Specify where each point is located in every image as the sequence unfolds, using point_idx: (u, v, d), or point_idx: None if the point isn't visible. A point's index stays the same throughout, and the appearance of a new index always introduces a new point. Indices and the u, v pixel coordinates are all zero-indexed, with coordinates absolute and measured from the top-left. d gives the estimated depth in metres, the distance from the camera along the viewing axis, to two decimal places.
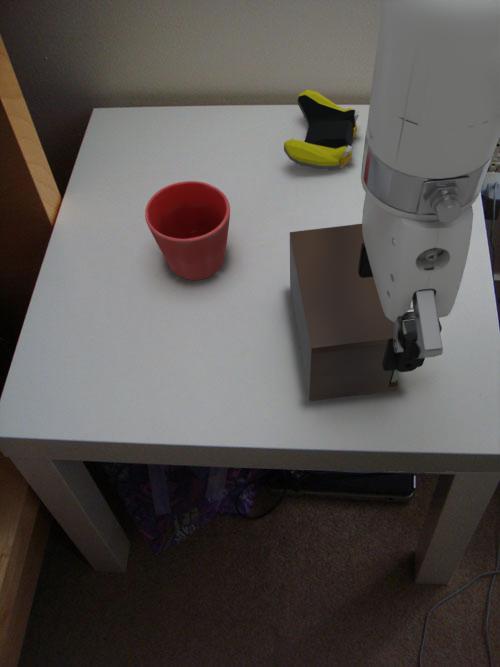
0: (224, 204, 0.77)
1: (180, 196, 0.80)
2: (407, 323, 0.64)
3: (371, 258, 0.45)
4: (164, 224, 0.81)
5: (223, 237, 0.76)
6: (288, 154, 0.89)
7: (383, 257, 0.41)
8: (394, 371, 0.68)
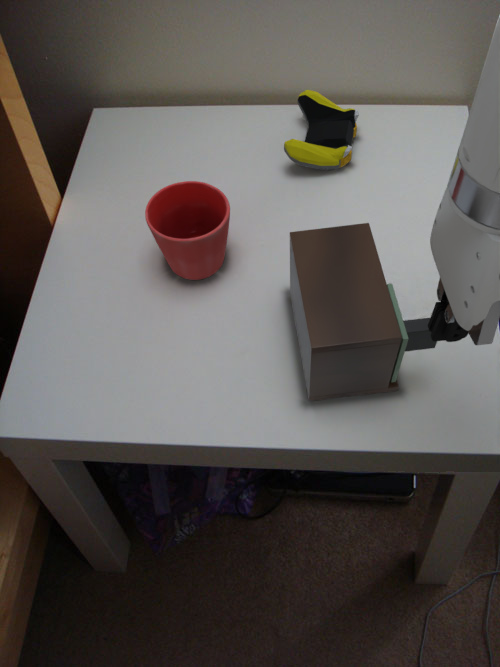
0: (224, 204, 0.77)
1: (180, 196, 0.80)
2: (407, 323, 0.64)
3: (444, 270, 0.47)
4: (164, 224, 0.81)
5: (223, 237, 0.76)
6: (288, 154, 0.89)
7: (462, 269, 0.43)
8: (394, 371, 0.68)
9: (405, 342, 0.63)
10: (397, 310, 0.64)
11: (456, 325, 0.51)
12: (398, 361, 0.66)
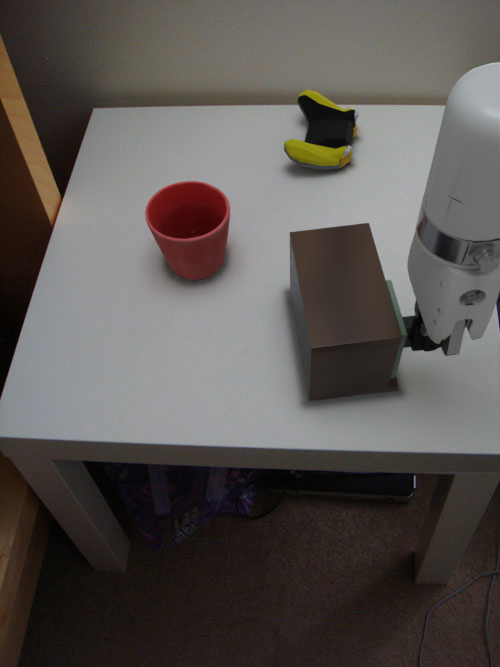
0: (224, 204, 0.77)
1: (180, 196, 0.80)
2: (406, 319, 0.64)
3: (418, 292, 0.56)
4: (164, 224, 0.81)
5: (223, 237, 0.76)
6: (288, 154, 0.89)
7: (431, 294, 0.52)
8: None
9: (404, 338, 0.63)
10: (396, 306, 0.64)
11: None
12: (397, 357, 0.66)
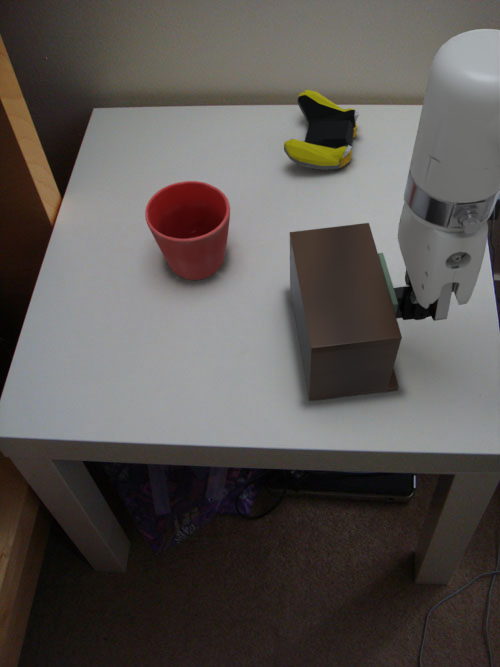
0: (224, 204, 0.77)
1: (180, 196, 0.80)
2: (397, 290, 0.66)
3: (407, 259, 0.58)
4: (164, 224, 0.81)
5: (223, 237, 0.76)
6: (288, 154, 0.89)
7: (419, 259, 0.54)
8: None
9: (395, 307, 0.65)
10: (387, 277, 0.67)
11: (421, 305, 0.62)
12: None
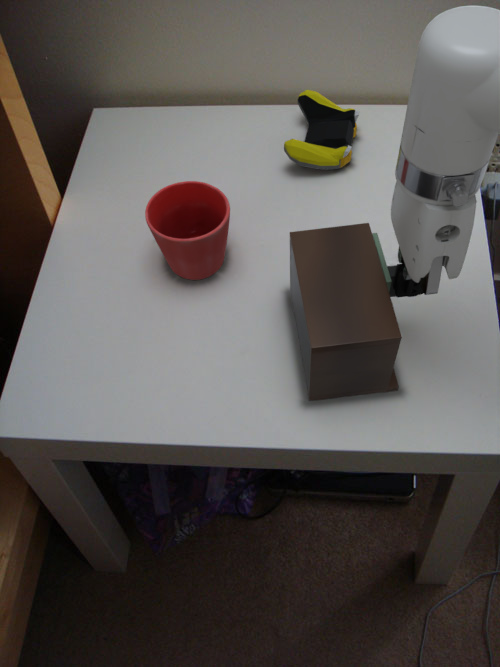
0: (224, 204, 0.77)
1: (180, 196, 0.80)
2: (391, 268, 0.68)
3: (399, 236, 0.60)
4: (164, 224, 0.81)
5: (223, 237, 0.76)
6: (288, 154, 0.89)
7: (410, 233, 0.56)
8: None
9: (388, 285, 0.67)
10: (381, 256, 0.68)
11: (413, 282, 0.64)
12: None
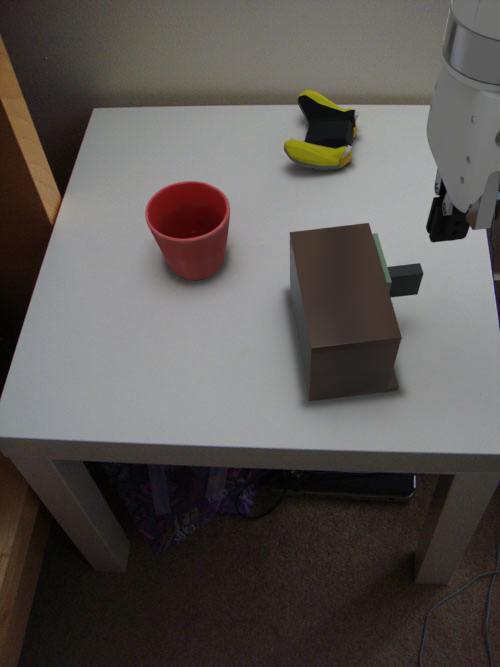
0: (224, 204, 0.77)
1: (180, 196, 0.80)
2: (391, 269, 0.68)
3: (440, 153, 0.46)
4: (164, 224, 0.81)
5: (223, 237, 0.76)
6: (288, 154, 0.89)
7: (458, 142, 0.42)
8: None
9: (389, 285, 0.67)
10: (381, 257, 0.68)
11: (454, 219, 0.50)
12: None
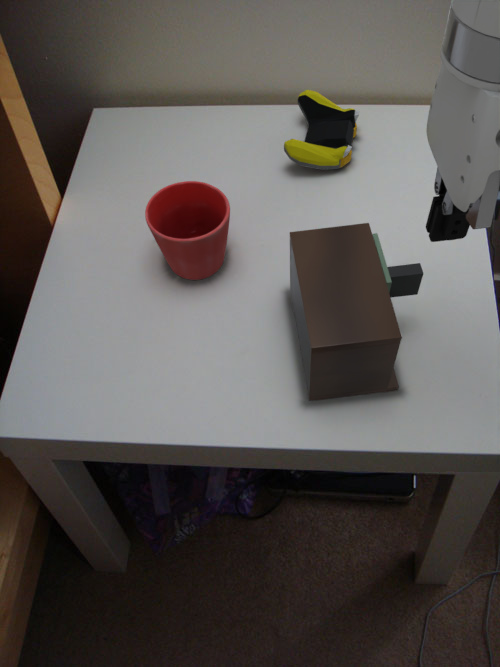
0: (224, 204, 0.77)
1: (180, 196, 0.80)
2: (391, 269, 0.68)
3: (440, 152, 0.46)
4: (164, 224, 0.81)
5: (223, 237, 0.76)
6: (288, 154, 0.89)
7: (458, 141, 0.42)
8: None
9: (389, 285, 0.67)
10: (381, 257, 0.68)
11: (454, 218, 0.50)
12: None
